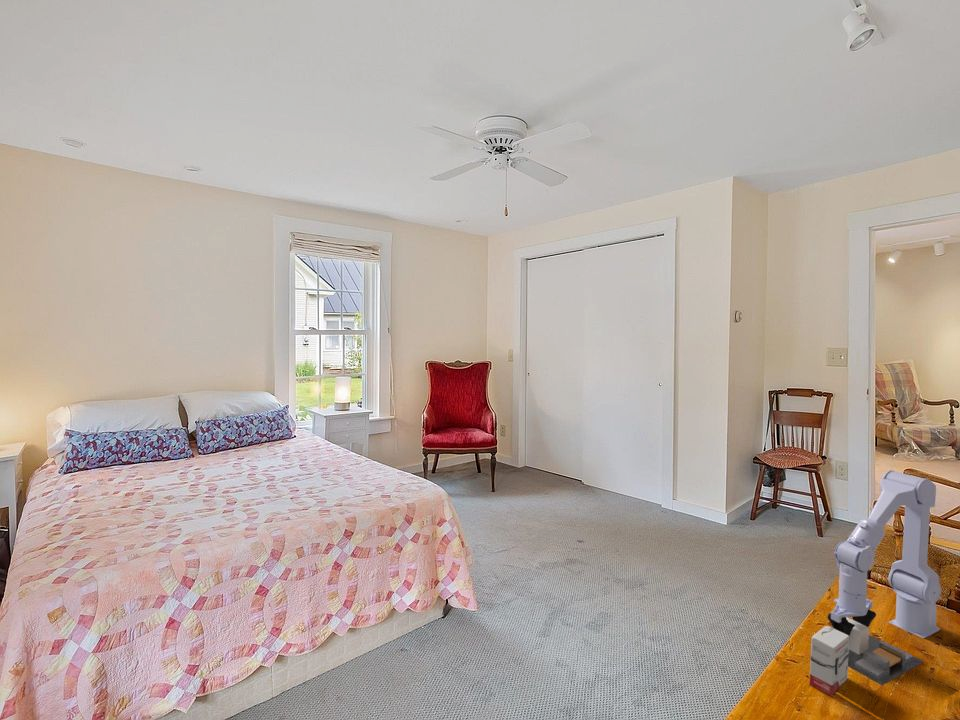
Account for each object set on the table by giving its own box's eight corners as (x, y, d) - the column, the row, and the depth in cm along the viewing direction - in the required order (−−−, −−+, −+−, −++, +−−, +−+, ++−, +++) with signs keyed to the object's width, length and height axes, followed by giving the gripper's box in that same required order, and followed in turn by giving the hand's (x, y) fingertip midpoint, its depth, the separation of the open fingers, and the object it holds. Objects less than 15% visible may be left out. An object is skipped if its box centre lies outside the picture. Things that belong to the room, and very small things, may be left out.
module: (843, 637, 134) (843, 615, 134) (868, 650, 129) (869, 627, 129) (833, 641, 133) (834, 619, 132) (859, 654, 127) (859, 632, 127)
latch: (879, 649, 127) (879, 647, 127) (900, 660, 123) (900, 658, 123) (867, 655, 125) (868, 653, 125) (889, 667, 121) (889, 664, 121)
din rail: (856, 631, 138) (856, 618, 138) (923, 664, 124) (923, 649, 124) (815, 651, 130) (815, 637, 130) (881, 688, 117) (882, 672, 116)
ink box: (832, 697, 114) (833, 647, 114) (808, 684, 119) (809, 636, 118) (848, 682, 119) (850, 634, 118) (825, 670, 123) (826, 623, 122)
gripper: (852, 576, 136) (850, 624, 137) (819, 589, 130) (817, 639, 131) (882, 588, 130) (880, 638, 131) (848, 602, 124) (847, 655, 125)
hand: (851, 640), depth 131 cm, fingers open, 7 cm apart
